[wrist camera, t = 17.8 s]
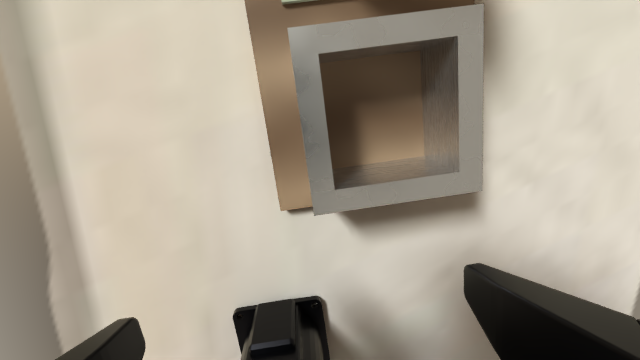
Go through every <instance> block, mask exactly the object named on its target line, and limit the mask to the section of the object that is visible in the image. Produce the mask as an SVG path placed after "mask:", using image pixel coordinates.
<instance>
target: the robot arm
mask: <svg viewBox="0 0 640 360" xmlns="http://www.w3.org/2000/svg"><path fill="white" fill-rule="evenodd" d="M464 295H465V298H466V300H467V302H468V304H469V306H470V307H471V309H472V311H473V313H474V315H475V316H476V318H477V320H478V322H479V323H480V325H481V327H482V329H483V331H484V332H485V334H486V336H487V338H488V340H489V341H490V343H491V345H492V346H493V348H494V350H495V351H496V353H497V354H498V356H499V357H500V359H501V360H640V319H637V320H636V319H635V318H634V317H632V316H629V315H626V314H623V313H620V312H618V311H615V310H612V309H609V308H606V307H603V306H600V305H598V304H595V303H592V302H589V301H586V300H583V299H581V298H578V297H575V296H572V295H569V294H566V293H564V292H561V291H558V290H555V289H552V288H549V287H546V286H544V285H541V284H538V283H535V282H532V281H529V280H527V279H524V278H521V277H518V276H515V275H512V274H510V273H507V272H504V271H501V270H498V269H495V268H493V267H490V266H487V265H484V264H481V263H476V264H470V265H466V266H465V267H464ZM314 302H316V303H317V304H316V305H313V304H312V303H314ZM238 314H241V315H243V316H238ZM233 321H234V325H235V329H236V333H237V338H238V342H239V346H240V350H241V354H242V356H241V360H330V357H329V350H328V343H327V336H326V329H325V323H324V316H323V309H322V302H321V299H320V298H319V297H317V296H311V297H305V298H298V299H288V300H282V301H275V302H269V303H262V304H259V305H254V306H247V307H241V308H237V309H236V310H235V311H234V314H233ZM144 352H145V340H144V337H143V334H142V331H141V328H140V325H139V322H138V320H137V319H136V318H134V317H131V318H124V319H119V320H117V321H115V322H114V323H112V324H110V325H109V326H107V327H106V328H104V329H103V330H101V331H99V332H98V333H96V334H95V335H93V336H92V337H90V338H88V339H87V340H85V341H84V342H82V343H81V344H79V345H77V346H76V347H74V348H73V349H71V350H70V351H68V352H66V353H65V354H63V355H62V356H60V357H59V358H57V359H55V360H142V358H143V356H144Z"/></svg>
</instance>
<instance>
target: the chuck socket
mask: <svg viewBox="0 0 640 360" xmlns="http://www.w3.org/2000/svg"><path fill="white" fill-rule="evenodd" d="M287 29H288V37H289V44H290V51H291V58H292V65H293V72H294V79H295V86H296V93H297V100H298V108H299V115H300V122H301V129H302V136H303V143H304V150H305V157H306V164H307V171H308V178H309V185H310V192H311V198H312V205H313V212H314V216H316V215H323V214H329V213H336V212H343V211H350V210H357V209H363V208H370V207H377V206H384V205H391V204H397V203H404V202H411V201H418V200H425V199H431V198H438V197H445V196H452V195H459V194H465V193H472V192H479V191H482V161H483V42H484V4H476V5H468V6H459V7H451V8H443V9H435V10H427V11H419V12H411V13H403V14H395V15H387V16H379V17H371V18H363V19H355V20H347V21H339V22H331V23H323V24H315V25H307V26H299V27H291V28H287ZM419 50H420V59H421V83H422V108H423V132H424V156H421V157H414V158H407V159H400V160H393V161H386V162H379V163H372V164H365V165H357V166H350V167H343V168H336V169H332V163H331V155H330V147H329V139H328V130H327V122H326V114H325V106H324V97H323V89H322V81H321V73H320V64H319V63H326V62H334V61H342V60H349V59H357V58H365V57H373V56H380V55H388V54H396V53H403V52H411V51H419Z"/></svg>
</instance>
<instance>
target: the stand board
mask: <svg viewBox="0 0 640 360" xmlns="http://www.w3.org/2000/svg"><path fill="white" fill-rule="evenodd" d="M468 5H474V0H245V6H246V11H247V17H248V23H249V29H250V35H251V41H252V46H253V52H254V58H255V64H256V70H257V76H258V81H259V87H260V93H261V99H262V105H263V111H264V116H265V122H266V128H267V134H268V140H269V145H270V151H271V157H272V163H273V169H274V175H275V180H276V186H277V192H278V198H279V204H280V210H281V211H284V210H291V209H298V208H305V207H312V206H313V205H312V198H311V192H310V185H309V178H308V171H307V164H306V157H305V150H304V143H303V136H302V129H301V122H300V115H299V108H298V100H297V93H296V86H295V79H294V72H293V65H292V58H291V51H290V44H289V37H288V29H287V28H291V27H299V26H307V25H315V24H323V23H331V22H339V21H347V20H355V19H363V18H371V17H379V16H387V15H395V14H403V13H411V12H419V11H427V10H435V9H443V8H451V7H459V6H468ZM319 64H320V73H321V81H322V89H323V97H324V106H325V114H326V122H327V130H328V139H329V147H330V155H331V163H332V169H336V168H343V167H350V166H357V165H365V164H372V163H379V162H386V161H393V160H400V159H407V158H414V157H421V156H424V132H423V108H422V83H421V59H420V50H419V51H411V52H403V53H396V54H388V55H380V56H373V57H365V58H357V59H349V60H342V61H334V62H326V63H319Z"/></svg>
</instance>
